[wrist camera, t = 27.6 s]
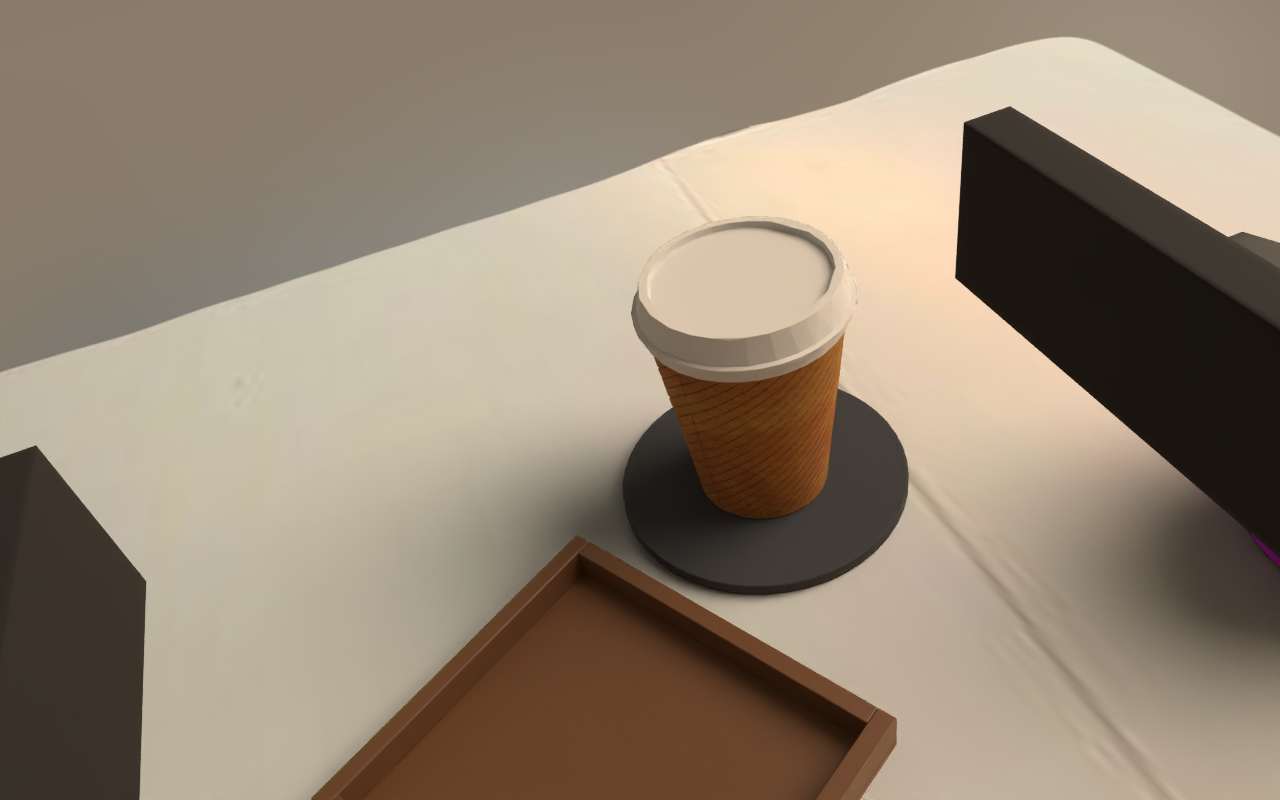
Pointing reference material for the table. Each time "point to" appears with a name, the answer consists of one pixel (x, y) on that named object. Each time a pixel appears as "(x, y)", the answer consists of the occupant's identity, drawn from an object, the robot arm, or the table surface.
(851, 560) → the coaster
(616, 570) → the tray
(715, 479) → the disposable coffee cup
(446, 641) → the table surface
